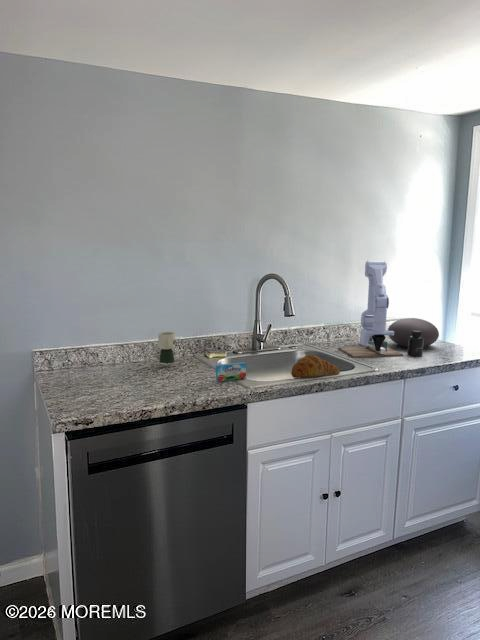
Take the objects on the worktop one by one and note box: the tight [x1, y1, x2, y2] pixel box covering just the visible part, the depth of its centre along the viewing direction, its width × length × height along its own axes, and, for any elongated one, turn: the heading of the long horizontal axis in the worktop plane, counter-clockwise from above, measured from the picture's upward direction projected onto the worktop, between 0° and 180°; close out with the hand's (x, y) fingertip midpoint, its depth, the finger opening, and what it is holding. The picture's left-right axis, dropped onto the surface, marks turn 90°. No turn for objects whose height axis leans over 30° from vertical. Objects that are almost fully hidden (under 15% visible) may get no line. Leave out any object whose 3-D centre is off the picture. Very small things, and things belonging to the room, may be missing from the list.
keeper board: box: [338, 340, 404, 359], centre depth 226 cm, size 18×25×5 cm
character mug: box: [157, 331, 176, 365], centre depth 199 cm, size 11×7×13 cm, turn 19°
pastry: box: [290, 354, 340, 379], centre depth 186 cm, size 21×13×8 cm, turn 113°
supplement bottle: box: [406, 330, 424, 358], centre depth 220 cm, size 7×7×12 cm
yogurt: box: [215, 361, 247, 383], centre depth 177 cm, size 12×2×6 cm, turn 114°
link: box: [367, 337, 386, 354], centre depth 225 cm, size 15×4×5 cm, turn 10°
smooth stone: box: [387, 317, 440, 348], centre depth 240 cm, size 25×25×15 cm
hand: (377, 350), depth 219 cm, fingers closed
